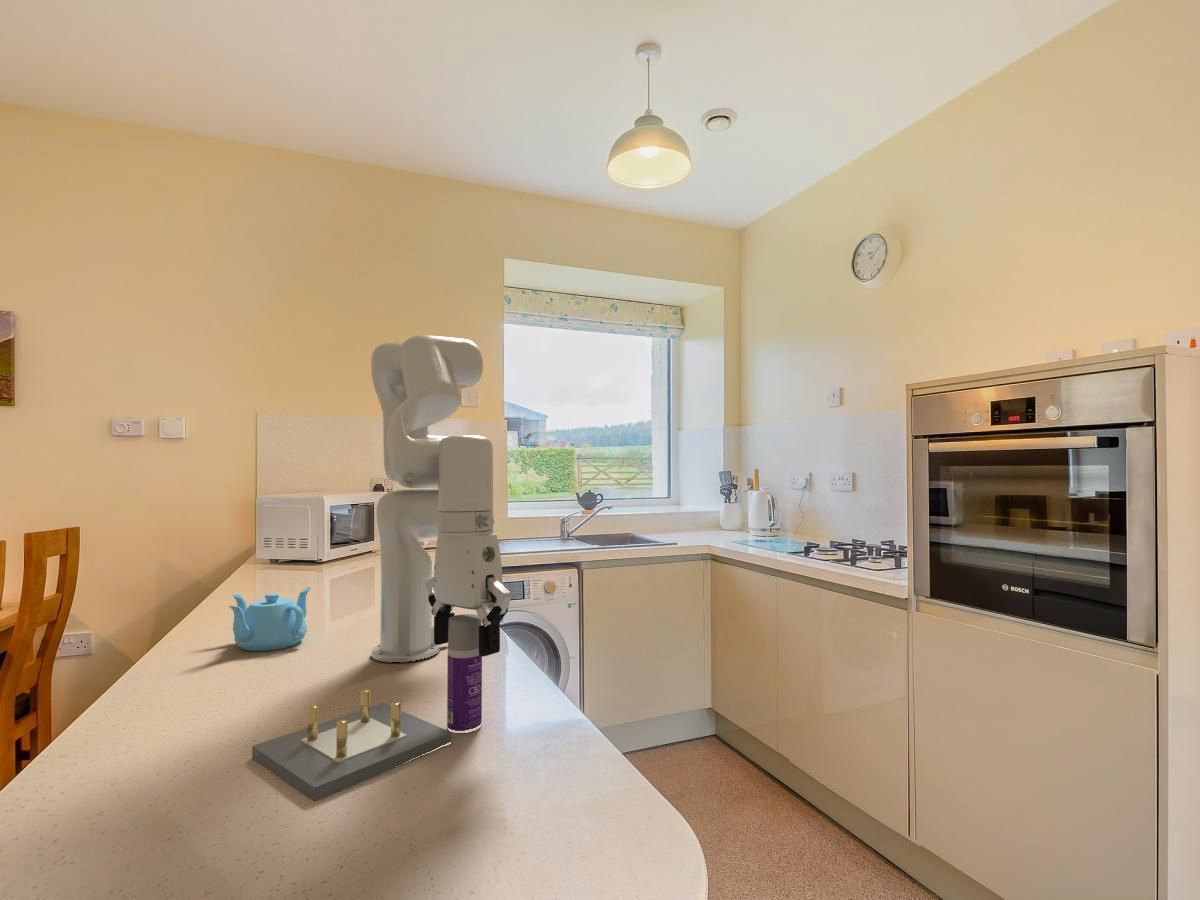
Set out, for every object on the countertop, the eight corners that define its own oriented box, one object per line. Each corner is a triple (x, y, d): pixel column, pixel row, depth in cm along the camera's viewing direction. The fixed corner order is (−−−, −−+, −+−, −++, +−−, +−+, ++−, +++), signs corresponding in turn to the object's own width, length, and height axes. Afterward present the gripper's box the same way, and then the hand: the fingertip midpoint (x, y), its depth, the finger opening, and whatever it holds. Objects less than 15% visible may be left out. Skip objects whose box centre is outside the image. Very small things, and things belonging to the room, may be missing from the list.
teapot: (309, 650, 122) (310, 597, 123) (221, 659, 116) (222, 604, 116) (310, 632, 136) (311, 585, 136) (230, 640, 129) (232, 590, 130)
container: (473, 735, 83) (474, 622, 83) (441, 732, 84) (441, 621, 84) (486, 721, 88) (487, 614, 88) (455, 718, 89) (456, 613, 89)
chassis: (383, 713, 90) (383, 701, 91) (451, 744, 80) (451, 730, 80) (251, 757, 77) (252, 744, 77) (314, 801, 66) (314, 785, 66)
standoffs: (367, 718, 84) (367, 688, 85) (402, 735, 79) (402, 703, 79) (305, 739, 78) (305, 707, 78) (339, 759, 73) (339, 724, 73)
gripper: (528, 524, 84) (529, 652, 83) (449, 520, 95) (449, 633, 94) (485, 528, 78) (486, 665, 77) (406, 523, 89) (406, 644, 88)
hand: (466, 648), depth 86 cm, fingers open, 9 cm apart
